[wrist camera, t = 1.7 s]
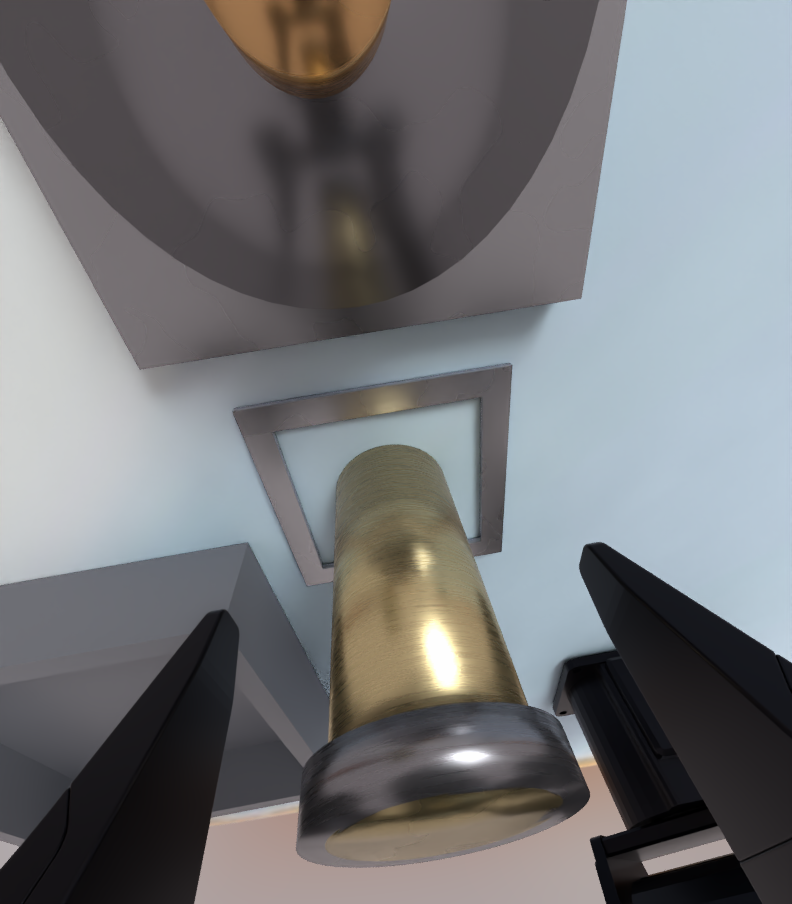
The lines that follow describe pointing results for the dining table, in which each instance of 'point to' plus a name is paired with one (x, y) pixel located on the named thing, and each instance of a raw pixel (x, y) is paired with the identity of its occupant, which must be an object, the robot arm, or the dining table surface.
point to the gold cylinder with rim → (422, 690)
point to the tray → (147, 677)
